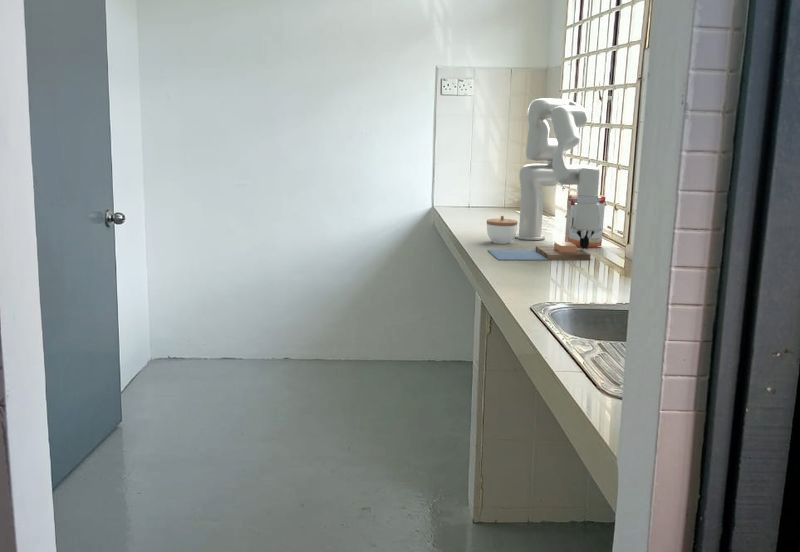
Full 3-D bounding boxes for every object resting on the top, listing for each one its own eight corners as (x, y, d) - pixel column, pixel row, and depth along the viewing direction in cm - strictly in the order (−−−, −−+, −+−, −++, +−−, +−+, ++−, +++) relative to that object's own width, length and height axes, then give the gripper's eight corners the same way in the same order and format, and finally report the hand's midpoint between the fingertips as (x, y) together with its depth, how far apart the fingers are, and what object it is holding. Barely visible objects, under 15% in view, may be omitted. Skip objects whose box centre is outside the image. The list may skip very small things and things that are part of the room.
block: (553, 248, 308) (554, 241, 308) (569, 248, 309) (569, 241, 308) (560, 252, 300) (561, 245, 299) (576, 252, 300) (576, 245, 300)
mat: (487, 250, 312) (487, 249, 312) (533, 250, 313) (534, 249, 313) (498, 260, 292) (498, 259, 292) (547, 260, 294) (547, 259, 294)
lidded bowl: (515, 245, 325) (516, 218, 323) (484, 244, 327) (485, 217, 325) (517, 240, 337) (518, 214, 335) (487, 239, 339) (488, 213, 337)
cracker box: (567, 247, 323) (571, 195, 319) (564, 244, 329) (567, 194, 325) (602, 247, 324) (605, 196, 319) (597, 245, 330) (601, 194, 325)
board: (535, 251, 313) (535, 246, 312) (575, 251, 314) (575, 246, 314) (547, 259, 295) (548, 254, 295) (590, 259, 296) (590, 254, 296)
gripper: (603, 199, 305) (599, 246, 309) (564, 198, 304) (562, 246, 308) (610, 201, 298) (606, 249, 302) (570, 201, 297) (567, 249, 300)
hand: (584, 248), depth 305 cm, fingers closed
